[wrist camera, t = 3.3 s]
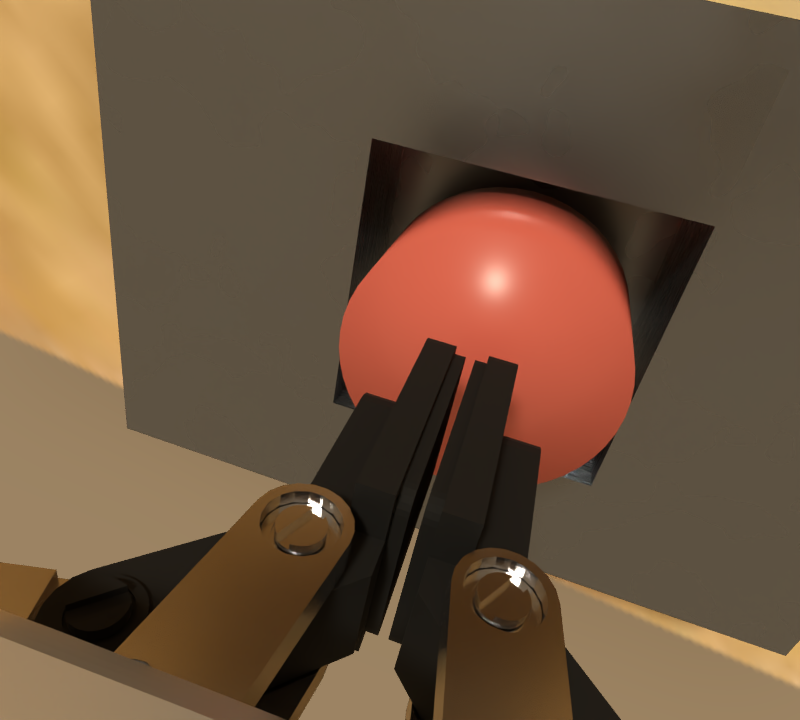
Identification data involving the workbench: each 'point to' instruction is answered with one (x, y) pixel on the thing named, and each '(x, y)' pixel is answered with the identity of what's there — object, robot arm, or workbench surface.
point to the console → (450, 175)
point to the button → (504, 317)
